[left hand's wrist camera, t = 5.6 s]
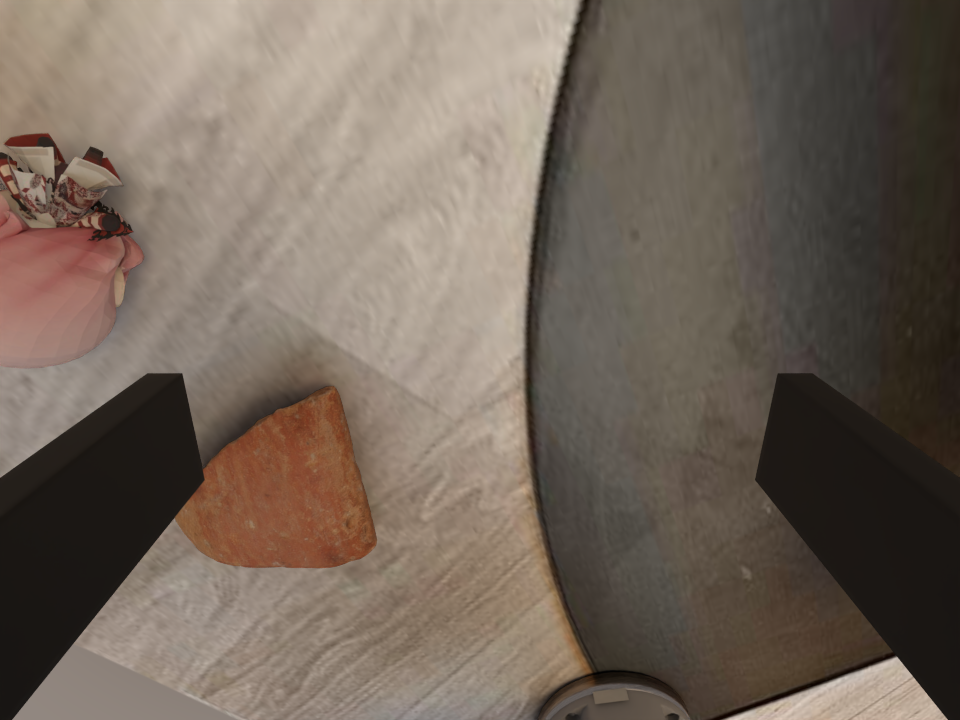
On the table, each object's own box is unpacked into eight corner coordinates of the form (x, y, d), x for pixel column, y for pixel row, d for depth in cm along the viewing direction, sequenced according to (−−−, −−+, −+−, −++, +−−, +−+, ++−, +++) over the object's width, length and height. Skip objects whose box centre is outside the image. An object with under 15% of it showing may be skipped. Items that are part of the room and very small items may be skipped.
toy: (-28, 68, 34) (-85, 284, 38) (-143, 71, 24) (-202, 356, 28) (184, 167, 39) (115, 346, 43) (155, 201, 30) (71, 423, 34)
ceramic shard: (116, 433, 38) (337, 393, 39) (157, 404, 44) (347, 371, 46) (176, 616, 42) (377, 575, 43) (206, 567, 48) (381, 531, 49)
